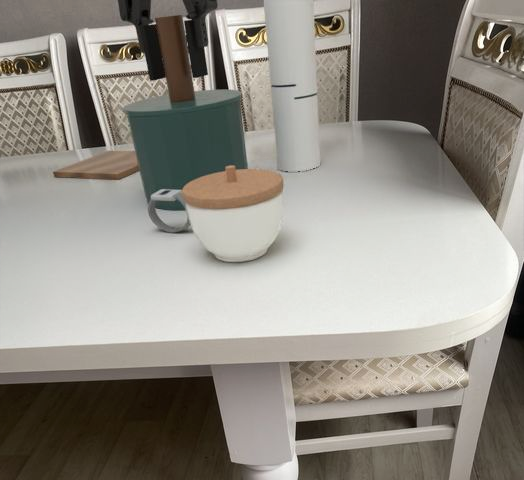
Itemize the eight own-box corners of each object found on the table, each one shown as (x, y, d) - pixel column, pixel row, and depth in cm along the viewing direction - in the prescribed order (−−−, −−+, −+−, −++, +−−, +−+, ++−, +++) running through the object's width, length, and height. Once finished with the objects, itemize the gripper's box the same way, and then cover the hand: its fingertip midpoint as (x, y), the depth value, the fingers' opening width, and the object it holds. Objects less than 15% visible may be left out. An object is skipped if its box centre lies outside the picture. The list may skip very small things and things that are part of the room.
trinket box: (278, 228, 64) (271, 148, 59) (298, 261, 55) (291, 171, 50) (191, 242, 63) (177, 162, 58) (197, 278, 54) (180, 188, 49)
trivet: (54, 177, 100) (52, 171, 99) (109, 155, 111) (108, 150, 111) (119, 179, 93) (117, 173, 92) (170, 156, 105) (169, 151, 104)
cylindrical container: (281, 161, 92) (267, -11, 78) (322, 159, 90) (315, -17, 77) (274, 172, 86) (257, -11, 72) (317, 170, 84) (309, -18, 71)
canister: (125, 207, 78) (103, 117, 72) (184, 176, 90) (170, 97, 83) (215, 213, 72) (200, 114, 65) (266, 179, 83) (258, 93, 76)
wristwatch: (200, 228, 67) (194, 189, 64) (189, 236, 65) (182, 196, 62) (160, 226, 70) (152, 188, 67) (148, 233, 68) (140, 195, 65)
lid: (99, 121, 73) (75, 27, 67) (173, 99, 85) (159, 17, 79) (197, 120, 65) (180, 14, 59) (264, 96, 77) (256, 5, 71)
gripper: (230, -164, 58) (253, 69, 71) (98, -126, 66) (139, 77, 79) (193, -178, 53) (225, 78, 65) (54, -134, 61) (107, 85, 74)
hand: (178, 77), depth 72 cm, fingers open, 6 cm apart
